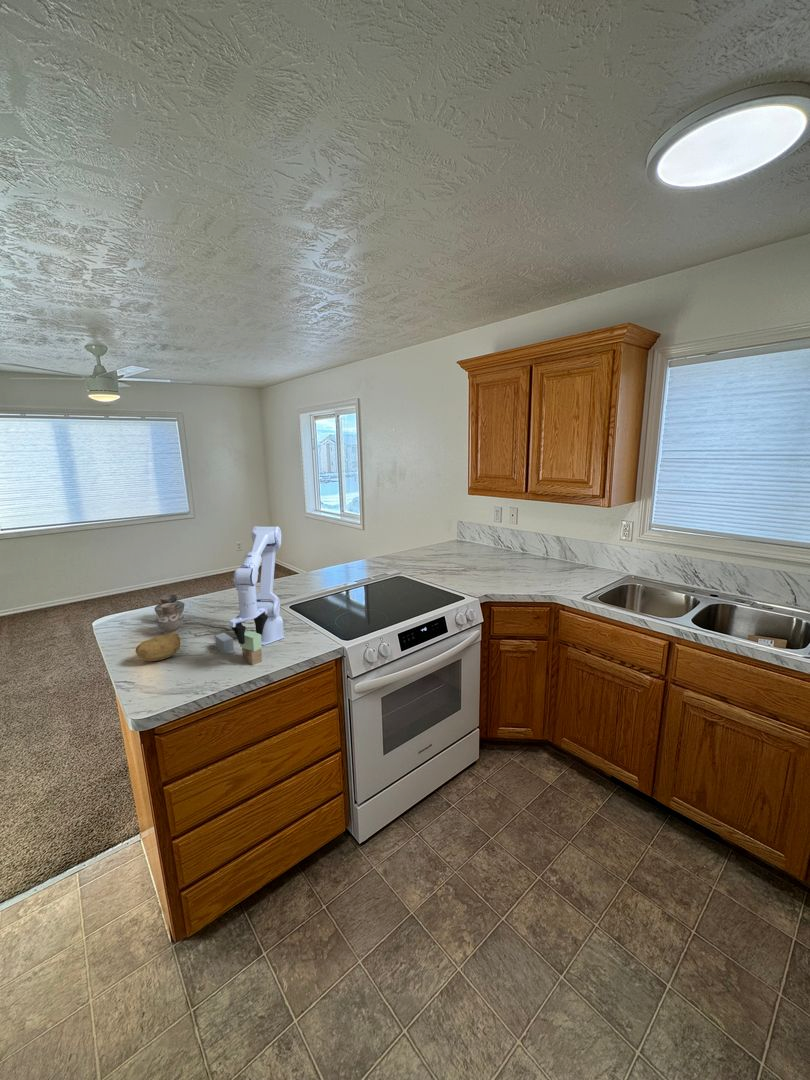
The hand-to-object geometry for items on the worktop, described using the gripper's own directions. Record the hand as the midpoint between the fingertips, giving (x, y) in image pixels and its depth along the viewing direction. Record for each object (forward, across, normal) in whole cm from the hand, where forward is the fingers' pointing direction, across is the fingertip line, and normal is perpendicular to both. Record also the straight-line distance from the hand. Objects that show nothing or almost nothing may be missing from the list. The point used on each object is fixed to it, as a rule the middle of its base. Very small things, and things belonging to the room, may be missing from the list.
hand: (250, 639), depth 151 cm
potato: (+8, +16, -28) cm, 34 cm away
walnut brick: (+8, 0, 0) cm, 8 cm away
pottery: (+8, -2, -52) cm, 52 cm away
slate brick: (+8, 0, -15) cm, 17 cm away
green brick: (+3, 0, 0) cm, 3 cm away
